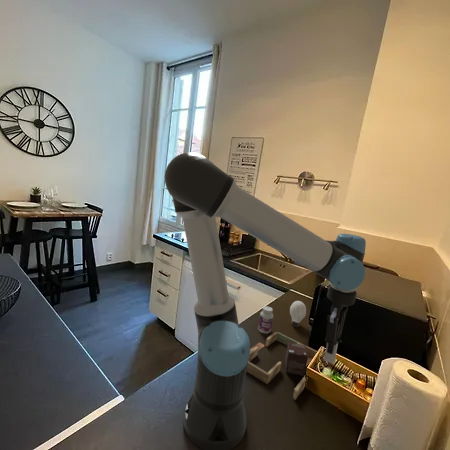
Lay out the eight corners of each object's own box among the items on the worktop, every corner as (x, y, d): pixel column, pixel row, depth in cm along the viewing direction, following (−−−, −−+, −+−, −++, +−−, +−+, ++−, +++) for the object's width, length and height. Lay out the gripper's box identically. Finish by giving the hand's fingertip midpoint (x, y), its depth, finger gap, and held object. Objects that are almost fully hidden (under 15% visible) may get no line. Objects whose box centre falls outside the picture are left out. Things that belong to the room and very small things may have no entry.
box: (302, 364, 90) (306, 345, 88) (304, 377, 84) (308, 356, 83) (284, 360, 91) (287, 341, 89) (285, 372, 85) (288, 352, 84)
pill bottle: (260, 334, 105) (264, 311, 103) (255, 327, 110) (259, 305, 108) (273, 333, 106) (276, 311, 105) (267, 326, 111) (270, 305, 110)
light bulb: (292, 319, 120) (296, 296, 119) (306, 326, 116) (310, 302, 114) (284, 323, 115) (288, 300, 114) (298, 331, 111) (303, 306, 109)
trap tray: (294, 401, 73) (295, 392, 73) (232, 362, 86) (234, 354, 86) (322, 362, 92) (324, 354, 92) (269, 335, 105) (270, 328, 105)
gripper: (350, 298, 69) (335, 378, 73) (361, 286, 79) (347, 357, 83) (322, 289, 73) (309, 365, 77) (336, 278, 84) (323, 346, 87)
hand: (329, 360), depth 80 cm, fingers closed
